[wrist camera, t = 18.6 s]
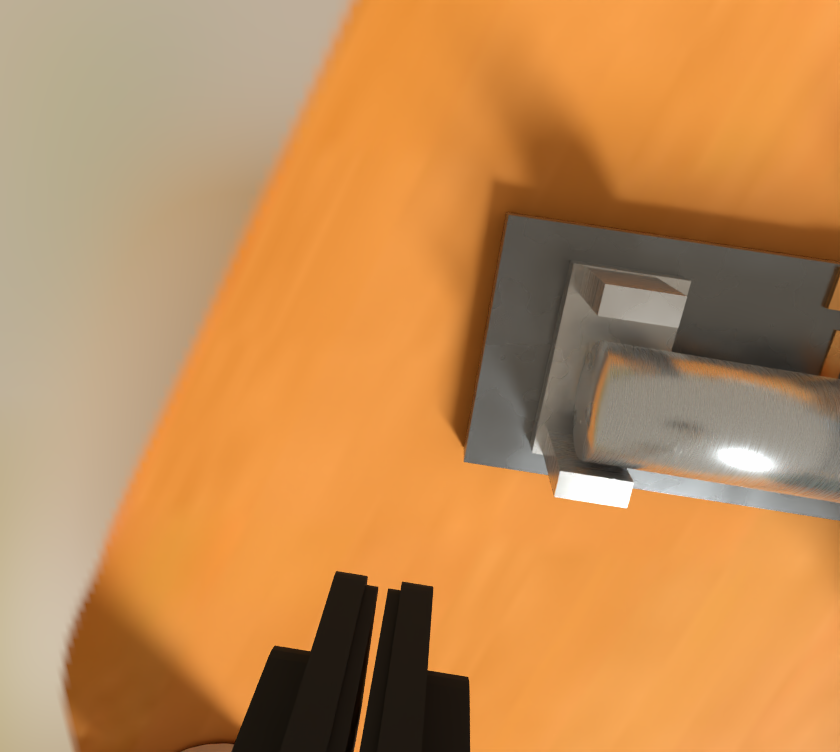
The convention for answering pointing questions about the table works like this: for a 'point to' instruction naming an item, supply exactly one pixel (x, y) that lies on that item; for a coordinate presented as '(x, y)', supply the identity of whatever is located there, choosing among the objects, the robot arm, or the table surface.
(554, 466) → the cylinder mounting fixture
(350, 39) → the table surface
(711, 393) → the banded metal cylinder
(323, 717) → the robot arm
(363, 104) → the table surface
